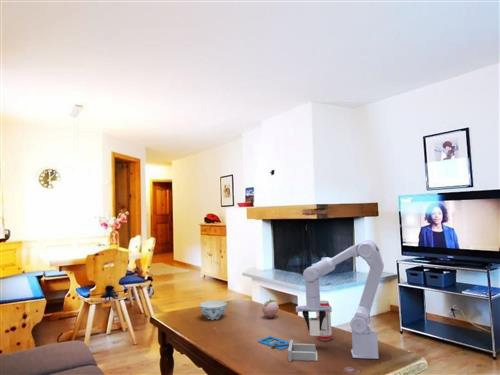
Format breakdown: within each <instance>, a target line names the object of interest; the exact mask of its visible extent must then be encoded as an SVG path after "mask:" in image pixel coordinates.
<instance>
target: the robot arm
mask: <svg viewBox="0 0 500 375" xmlns="http://www.w3.org/2000/svg"><path fill="white" fill-rule="evenodd" d="M351 257H353V258H358V257H360V258H361V259H363V261H365V263H367V265H368V267H369V271H368V275H367V278H366V280H365V284H364V288H363V290H362V291H363V292H362V294H361V297H360V301H359V304H358V307H357V309H356V312H355V314H354V316H353V317H352V318H351V320H350V328H351V342H352V343H351V344H352V348H350V352H351V355H352V358H353V359H372V360H373V359H375V360H377V359H380V357H379V344H378V336H377V335H378V334H377V331H374V330H371V328H370V326H369V325H370V323H371V312H372V307H373V304H374V301H375V300H374V299H375V297H376V295H377V294H376V293H377V291H378V287H379V283H380V280H381V279H382V278H381V276H382V274H383V271H384V269H385V268H384V266H385V265H384V261H383V258H382V255H381V250H380V248H379V247H378V245H377V243H375V242H374V241H373V240H369V239H367V240H364V241H363V242H360V243H359V242H358V243H356V244H354V245H351V246H350V247H348V248H347V249H345V250H343V251H341V252H339V253H338V254H336V255H335V256H333V257H328V256H327V257H325V256H324V257H321V258H320V261H318V262H316V263H312V264H311V266H309V267H306V268H305V269H304V270H303V272H302V276H303V278H304V281H305V283H304V284H305V299H306V300H305V301H306V302H305V304H306V305H297V306H295V312H296V313H301V312H302V317H303V318H304V321H305V323H306V327H307V330H308V331H310V326H309V318H310V312H311V313H312V312H315V313H316V312H319V319H320V323H319V327H320V330H321V327H322V322H323V319H324V317H325V312H330V313H332V312H333V311H332V310H333V309H332V306H331V305H330V306H320V301H321V294H320V291H321V290H320V278H321V277H324V276H326V275H327V274H329V273H330V272H333V271H334V270H335V269H336V266H337V265H338V264H340V263H342V262H343V261H346V260H348V259H350V258H351Z"/></svg>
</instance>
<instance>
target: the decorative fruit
mask: <svg viewBox="0 0 500 375" xmlns="http://www.w3.org/2000/svg"><path fill="white" fill-rule="evenodd" d="M279 308H280V307H279V305H278V303H277V300H275V299H269V300H267V301H264V302H263V304H262V306H261V309H262V313H263V314H264V315H265V316H266V317H268V318H270V319H271V318H273V317H275V316H276V314H278V311H279Z"/></svg>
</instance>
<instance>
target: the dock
mask: <svg viewBox="0 0 500 375" xmlns="http://www.w3.org/2000/svg"><path fill="white" fill-rule="evenodd" d="M289 342H290V343H289V348H287V356H288V357H287V360H288V362H289V363H291V362H293V361H295V362H296V361H298V362H300V361H301V362H302V361H303V362H318V351H317V349H316V348H317V347H316V343H296V344H294V343H295V342H294V340H293V339H290V340H289Z"/></svg>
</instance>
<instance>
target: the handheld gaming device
mask: <svg viewBox="0 0 500 375" xmlns="http://www.w3.org/2000/svg"><path fill="white" fill-rule="evenodd" d="M257 343H259V344H261V345H265V346H267V347H271V346H273V345H283V344H289V343H290V341H288V340H284V339H281V338H277V337H275V336H272V335H271V336H270V335H268V336H267V337H264V338H261V339H258V340H257ZM288 348H289V346H283V347H276V348H275V349H276V350H279V351H284V350H288Z"/></svg>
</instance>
